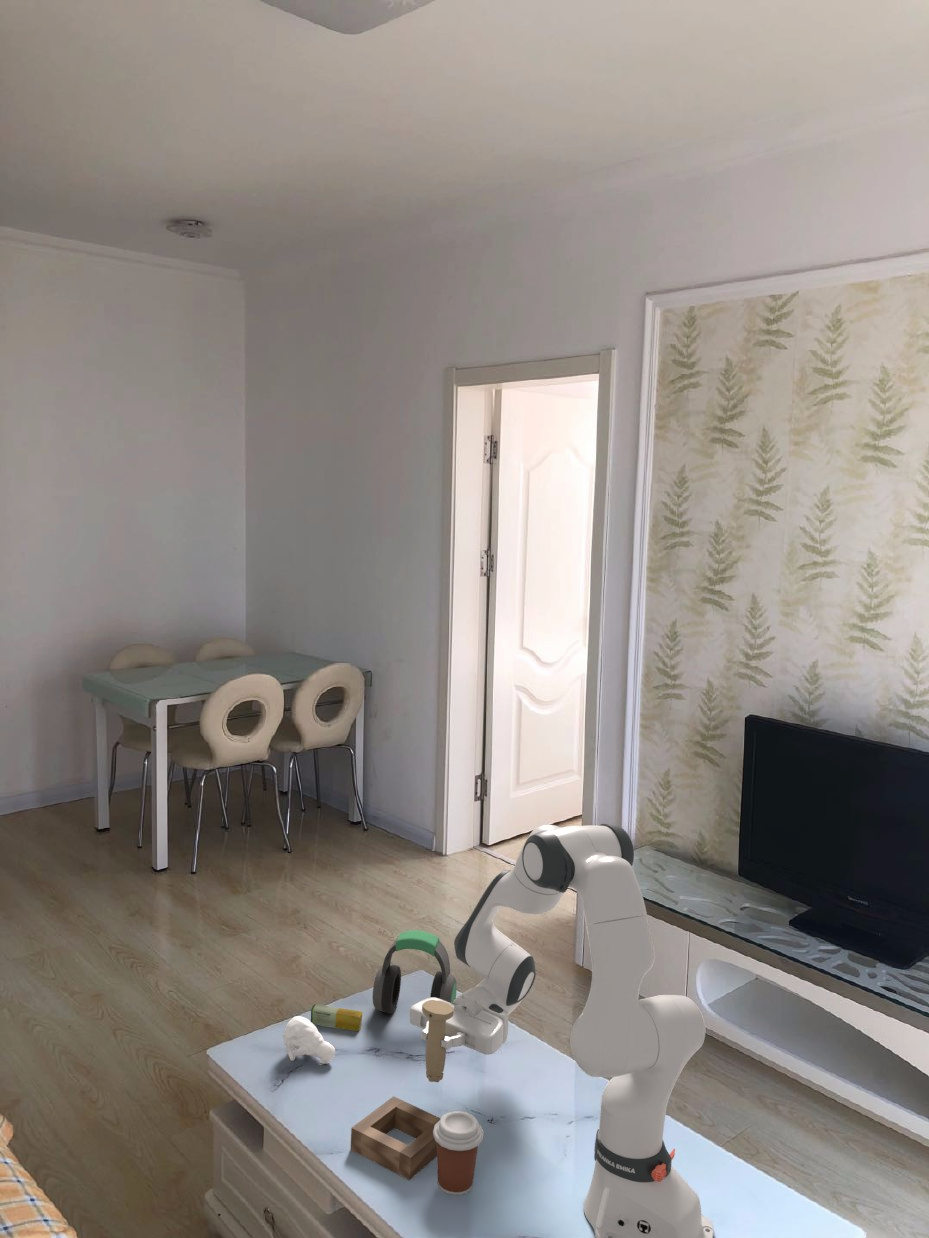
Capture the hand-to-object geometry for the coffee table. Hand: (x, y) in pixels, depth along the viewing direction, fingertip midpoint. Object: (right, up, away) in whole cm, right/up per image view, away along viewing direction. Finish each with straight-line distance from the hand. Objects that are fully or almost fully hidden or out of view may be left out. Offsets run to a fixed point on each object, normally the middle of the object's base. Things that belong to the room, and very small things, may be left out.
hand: (433, 1040), depth 199 cm
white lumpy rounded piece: (-28, -14, +23) cm, 39 cm away
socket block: (-6, -18, -5) cm, 20 cm away
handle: (0, -8, +2) cm, 9 cm away
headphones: (-6, -12, +45) cm, 47 cm away
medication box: (-24, -12, +38) cm, 46 cm away
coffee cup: (+4, -20, -15) cm, 25 cm away
